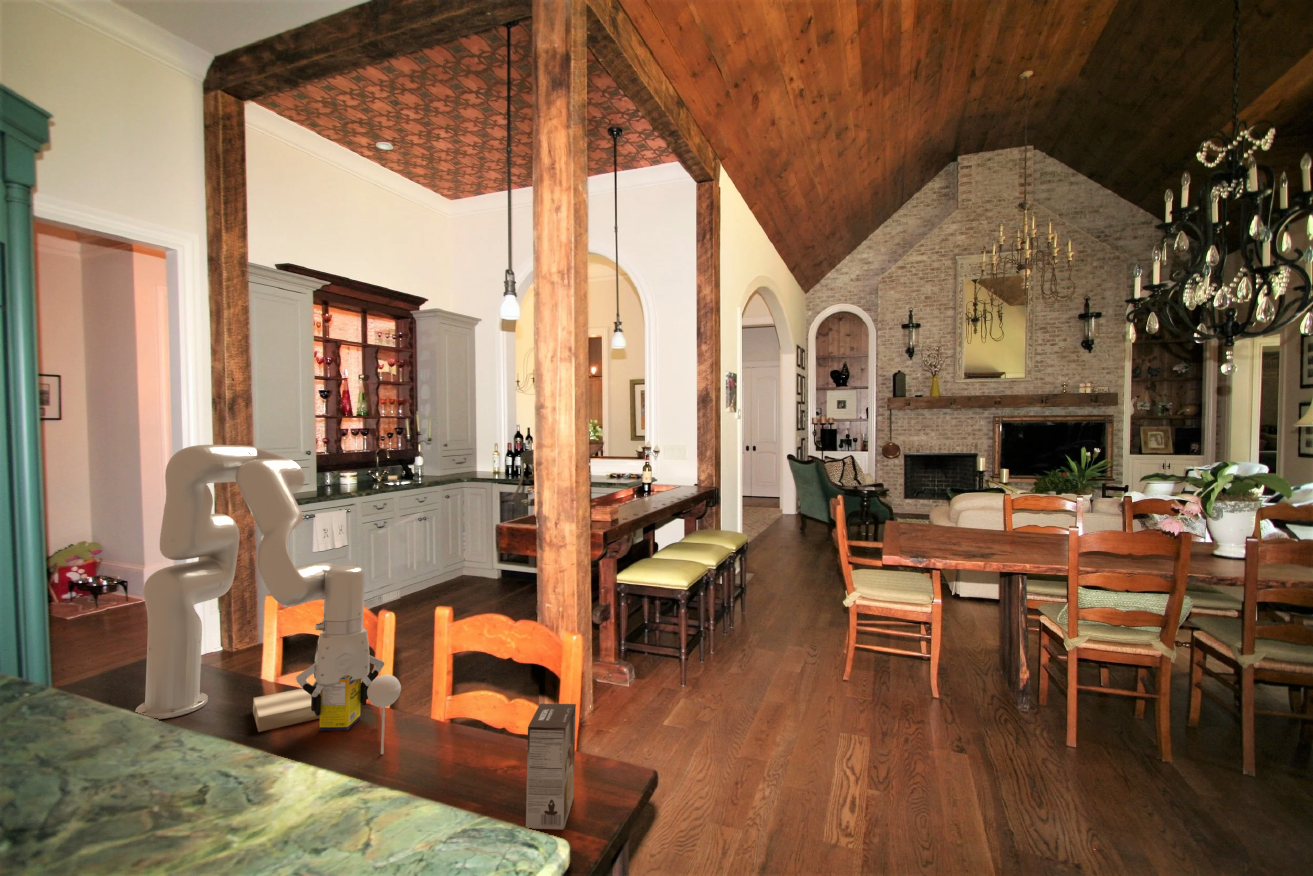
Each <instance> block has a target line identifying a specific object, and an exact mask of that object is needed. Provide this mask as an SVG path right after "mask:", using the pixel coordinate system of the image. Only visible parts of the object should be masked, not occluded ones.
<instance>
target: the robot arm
mask: <svg viewBox="0 0 1313 876" xmlns="http://www.w3.org/2000/svg"><path fill="white" fill-rule="evenodd" d="M164 474H165V475H164V476H165V477H164V480H165V482H164V483H165V503H164V506H163V507H164V508H163V516H162V519H161V521H162V522H161V528H160V535H159V551H160V553H161V555H162V556H163V557H164V558H166V559H168V560H171V561H184V560H190V559H197V558H198V560H197V561H193V562H191V561H190V562H186V563H184V562H183V563H180V564H175V565H170V566H167V567H164V568H161V569H158V570H157V571H155V572H153V573H152V574H151V575H150V576H148V577H147V579H146V581H145V582H144V585H143V592H142V593H143V594H142V595H143V599H144V603H145V608H146V615H147V644H146V645H147V646H146V647H147V648H146V649H147V650H146V668H145V669H146V671H145V673H146V675H145V695H144V696H145V697H144V699H145V700H144V702H142V703H141V704H139V705H138V706H137V707H136V709H135V711H134V712H138V713H141V714H144V715H148V716H151V717H154V718H158V719H157V720H162V719H169V718H170V719H171V718H175V717H180V716H183V715H186V714H190V713H192V712H194V711H197V710H199V709H201V708H202V707H204V706H205V705H207V703H208V701H209V700H208V697H209V696H208V694H206V693H204V692H200V691H201V669H202V667H201V666H202V665H201V664H202V641H203V633H202V632H203V624H202V620H201V617H200V615H199V614H198V613H197V610H196V609H195V606H194V605H198V604H200V603H204V602H208V601H211V600H215V599H218V598H220V597H222V596H224V595H225V594H226V593H228V592H229V590H230V589H231V588H232V585H233V583H234V580H235V574H236V567H237V560H238V555H239V548H240V547H239V546H240V540H241V539H240V538H241V537H240V529H239V526H238V525H237V523H236V521H235V520H234V519H233V518H232V517H231V516H229V515H227V514H224V513H212V509H213V505H214V500H213V499H214V498H213V497H214V496H213V494H212V492H211V489H210V487H209V486H208V485H209V484H215V483H216V484H217V483H236V486H237V488H238V489H239V492H240V493H241V495H242V498H243V500H244V501H245V502H244V503H245V504H246V505H247V507H248V510H249V511H250V513H251V516H252V517H253V519H254V521H255V523H256V525H257V527H258V529H259V531H260V533H261V537H260V540H259V543H258V548H257V567H258V571H259V573H260V574H259V575H260V576H261V577H260V578H261V579H262V580H263V582H264V584H265V587H266V588H267V590H268V592H269V594H270V595H271V596H272V598H273V599H274V600H275V602H277V603H278V604H280V605H282V606H285V607H297V606H300V605H302V604H306V603H309V602H311V601H312V602H313V601H317V600H318V599H323V618H322V621H321V622H319V623H315V631H321V632H320V633H319V635H318V636H319V637H318V639H317V643H316V648H315V649H316V650H315V656H314V663H313V664H312V665H311V666H309V667H307V668H306V669H305V670H303V671H302V672H301V673H299V674H298V675H297V676H296V677H295V681H296V682H297V683H298V684H299V685H300V688H301V689H302V688H303V689H304V690H305V691H306V692H308V693H309V694H310V695H311V711H314V712H315V714H316V716H319V715H320V714H321V696H320V691H321V690H322V688H323V687H324V686H327V685H333V684H337V683H338V682H339V679H341V678H344V677H348V676H352V680H358V679H361V705H362V706H367V700H369V699H368V696H367V689H368V687H369V685H370V684H371V682H372V681H373V680H374V679H375V678H377V677H379V673H380V672H381V670H382V669H383V667H384V666H385V662H384V661H383V660H382V659H380V658H376V657H375V656H373V655H370V644H369V635H368V630H367V629H366V628H364V625H363V624H364V596H365V595H364V594H365V593H364V592H365V571H364V569H363V568H362V567H360V566H357V565H356V566H355V565H344V566H343V565H338V564H334V563H329V562H317V563H312V564H308V565H303V566H300V567H296V566H295V563H294V562H293V560H292V557H291V556H290V554H289V553H290V552H289V550H288V549H289V548H288V541H289V537H290V535H291V533H292V531H294V530H295V529H296V528H298V527H299V526H300V525H301V524H302V522H303V521H304V513H303V511H302V510H301V507H300V506H299V504H298V502H297V500H296V499H295V496H294V494H296V493H298V492H299V491H301V489H302V488H303V487H304V483H305V481H306V480H305V474H304V471H303V469H302V467H301V466H300V464H298V463H297V462H296V461H294V460H292V459H291V458H289V457H285V456H282V455H279V454H277V453H273V452H271V451H267V450H265V449H262V448H258V447H256V446H252V445H236V444H235V445H234V444H231V445H229V444H228V445H227V444H198V445H192V446H191V445H190V446H187V447H185V448H182V449H180V450H178V451H176V452H175V453H174V454H173V455H172V457H170V459H169V460H168V462H167V465H166V468H165V473H164ZM371 665H374V666H373V669H372V670H370V669H371ZM312 675H313V678H314V679H315V681H314V683H313V684H311V683H309V682H308V681H307V679H308V678H309V677H310V676H312Z"/></svg>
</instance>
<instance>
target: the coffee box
mask: <svg viewBox="0 0 1313 876" xmlns="http://www.w3.org/2000/svg"><path fill="white" fill-rule="evenodd" d="M576 706H577V704H576V703H539V705H538V707H537V709H536V711H535V712H534V714H533V717H532V718H531V720H530V722H529V724H528V726H527V750H526V751H527V753H526V754H527V755H526V756H527V758H526V794H525V795H526V797H525V799H526V800H525V804H526V805H525V828H526V827H527V828H526V829H528V828H532V830H534V829H535V830H565V828H566V825H567V821H568V818H569V814H570V811H571V807H572V805H573V801H574V796H575V791H574V790H575V755H576V753H575V749H576V748H575V747H576V746H575V745H576Z"/></svg>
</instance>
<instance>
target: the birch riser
mask: <svg viewBox="0 0 1313 876" xmlns="http://www.w3.org/2000/svg"><path fill="white" fill-rule="evenodd" d="M252 702H253V703H252V715H253V717H254V721H255V724H256V728H257V732H258V733H260V732H264V731H269V730H275V729H279V728H282V727H287V726H292V725H296V724H301V723H303V722H304V723H305V722H310V721H314V720H318V719H320V715H319V716H316V714H315V712H314V711H311V695H310V694H309V693H308V692H306V691H305V690H304V689H303V688H302V687H301V688H297V689H292V690H287V691H283V692H276V693H271V694H267V695H261V696H256V697H253V699H252Z"/></svg>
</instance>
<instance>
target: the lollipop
mask: <svg viewBox="0 0 1313 876" xmlns="http://www.w3.org/2000/svg"><path fill="white" fill-rule="evenodd" d="M401 691H402V685H401V683H400V681H399V679H398V678H397V677H396V676H394V675H393V674H381V675H378V676H377V677H376V678H375V679H374V680H373V681H372V682H371V684H370V685H369V687H368V689H367V696H368V699H367V700H368V701H369V703H370V704H372V706H374V707H377V708H381V709H382V711H381V736H380V737H381V740H380V741H381V743H380V744H381V745H380V755H384V752H385V751H384V750H385V749H384V748H385V746H384V745H385V743H384V742H385V718H386V716H385V714H386V711H385V710H386V707H389V706H391V705H393V704H395V702H396V701H397V700H398V698H399V697H400V694H401Z"/></svg>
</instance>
